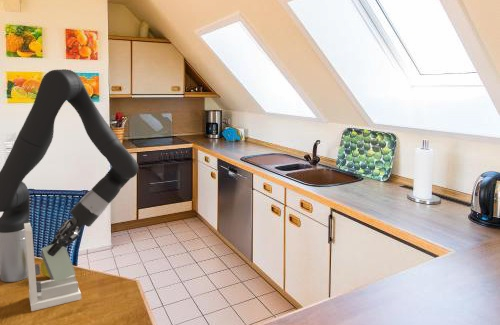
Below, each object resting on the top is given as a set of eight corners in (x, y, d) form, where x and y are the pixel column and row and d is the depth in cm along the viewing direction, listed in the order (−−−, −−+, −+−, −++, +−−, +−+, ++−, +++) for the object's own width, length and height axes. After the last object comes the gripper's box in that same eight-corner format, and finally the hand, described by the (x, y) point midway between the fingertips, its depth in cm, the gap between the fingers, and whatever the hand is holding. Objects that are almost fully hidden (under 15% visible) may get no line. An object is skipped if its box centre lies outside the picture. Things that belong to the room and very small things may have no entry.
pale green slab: (74, 270, 124) (62, 240, 121) (75, 273, 122) (63, 242, 118) (51, 280, 121) (39, 249, 117) (52, 283, 119) (40, 252, 115)
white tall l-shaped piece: (76, 286, 128) (72, 216, 124) (81, 299, 121) (77, 224, 117) (29, 297, 121) (23, 223, 117) (31, 311, 114) (24, 232, 109)
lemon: (42, 275, 135) (40, 253, 134) (60, 273, 138) (58, 251, 136) (41, 282, 130) (39, 260, 129) (59, 279, 133) (58, 257, 131)
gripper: (76, 195, 126) (36, 238, 122) (84, 206, 115) (40, 254, 110) (94, 209, 130) (56, 251, 126) (104, 220, 118) (62, 268, 114)
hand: (49, 252), depth 118 cm, fingers closed on pale green slab, 2 cm apart
